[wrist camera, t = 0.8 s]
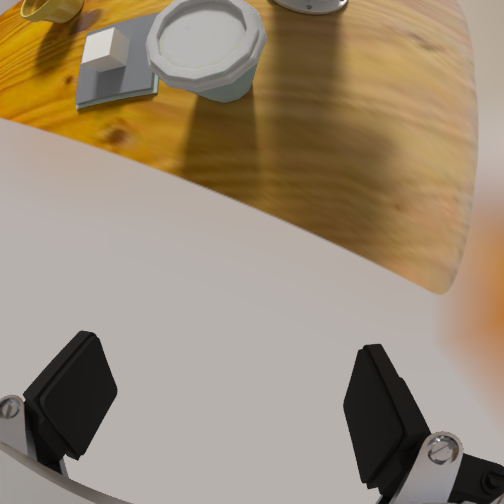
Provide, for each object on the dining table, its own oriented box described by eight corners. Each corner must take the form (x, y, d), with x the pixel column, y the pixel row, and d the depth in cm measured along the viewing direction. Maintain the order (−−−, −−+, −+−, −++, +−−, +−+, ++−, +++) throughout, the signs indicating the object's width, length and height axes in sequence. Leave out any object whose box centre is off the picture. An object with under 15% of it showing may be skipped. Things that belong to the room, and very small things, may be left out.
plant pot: (88, 18, 26) (57, -2, 17) (46, 40, 27) (13, 27, 17) (97, -19, 23) (72, -41, 14) (56, 3, 24) (28, -13, 14)
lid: (90, 35, 27) (70, 23, 21) (163, 15, 26) (149, -4, 21) (78, 105, 31) (54, 99, 25) (153, 89, 30) (134, 77, 24)
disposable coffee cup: (264, 119, 32) (264, 84, 17) (180, 119, 32) (128, 91, 18) (268, 47, 28) (269, -17, 14) (187, 49, 29) (147, -6, 14)
